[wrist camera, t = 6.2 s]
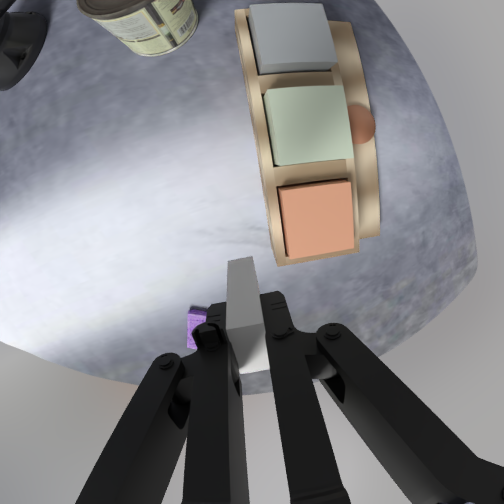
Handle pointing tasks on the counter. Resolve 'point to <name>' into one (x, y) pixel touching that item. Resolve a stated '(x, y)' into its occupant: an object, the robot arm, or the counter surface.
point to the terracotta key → (316, 217)
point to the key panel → (352, 169)
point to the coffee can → (145, 22)
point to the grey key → (291, 38)
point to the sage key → (308, 124)
